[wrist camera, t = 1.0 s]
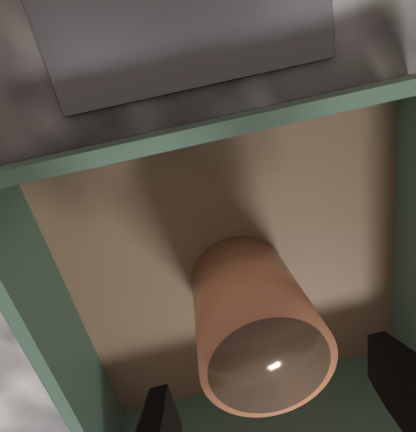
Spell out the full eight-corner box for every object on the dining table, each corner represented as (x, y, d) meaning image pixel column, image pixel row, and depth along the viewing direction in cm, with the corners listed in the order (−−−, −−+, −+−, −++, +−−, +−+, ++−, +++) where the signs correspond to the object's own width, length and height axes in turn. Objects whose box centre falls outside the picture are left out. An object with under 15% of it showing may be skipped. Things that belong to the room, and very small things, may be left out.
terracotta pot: (278, 226, 16) (335, 295, 10) (288, 305, 17) (341, 400, 12) (181, 248, 15) (184, 331, 10) (202, 325, 17) (214, 431, 12)
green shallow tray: (408, 74, 14) (528, 59, 9) (396, 350, 20) (463, 425, 15) (-1, 165, 13) (-97, 198, 9) (118, 417, 20) (99, 514, 15)
